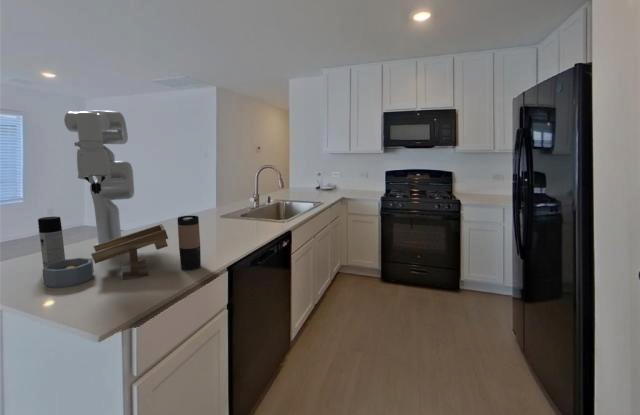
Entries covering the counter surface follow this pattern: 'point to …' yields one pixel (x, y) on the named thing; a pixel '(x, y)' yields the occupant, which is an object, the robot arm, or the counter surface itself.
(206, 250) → the counter surface
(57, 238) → the spray can
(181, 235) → the travel mug
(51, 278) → the octagonal bowl
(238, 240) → the counter surface
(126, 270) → the pivot stand
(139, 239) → the lever tray
